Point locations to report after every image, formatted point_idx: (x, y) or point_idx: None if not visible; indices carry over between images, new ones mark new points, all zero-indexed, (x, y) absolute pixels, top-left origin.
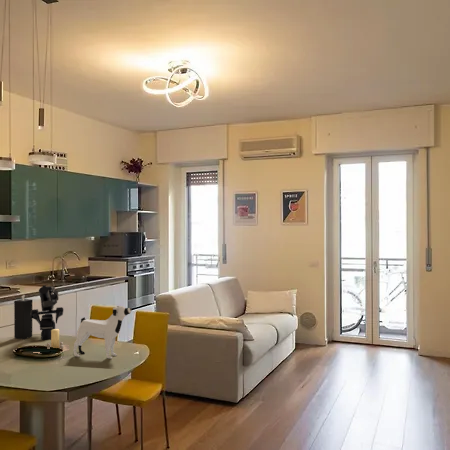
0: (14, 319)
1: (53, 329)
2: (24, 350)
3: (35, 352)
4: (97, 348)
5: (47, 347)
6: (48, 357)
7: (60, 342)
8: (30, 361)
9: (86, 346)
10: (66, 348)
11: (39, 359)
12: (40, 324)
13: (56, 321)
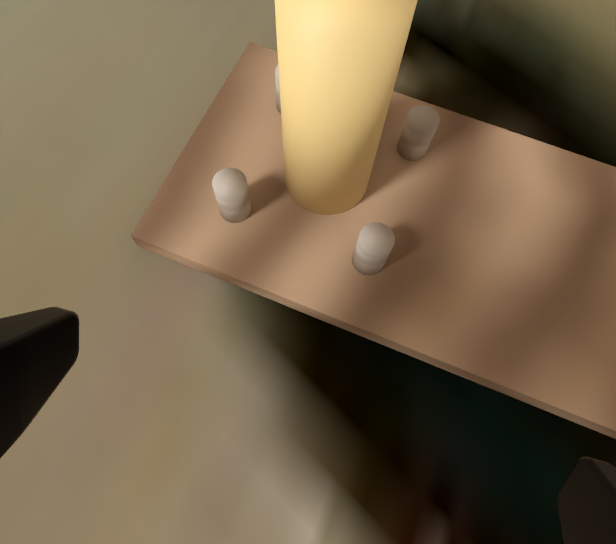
0: None
1: (363, 20)
2: (605, 447)
3: (539, 180)
4: (4, 10)
5: (436, 120)
6: (453, 47)
7: (239, 186)
8: (604, 45)
9: (14, 124)
10: (236, 110)
11: (530, 46)
12: (588, 462)
13: (34, 320)
